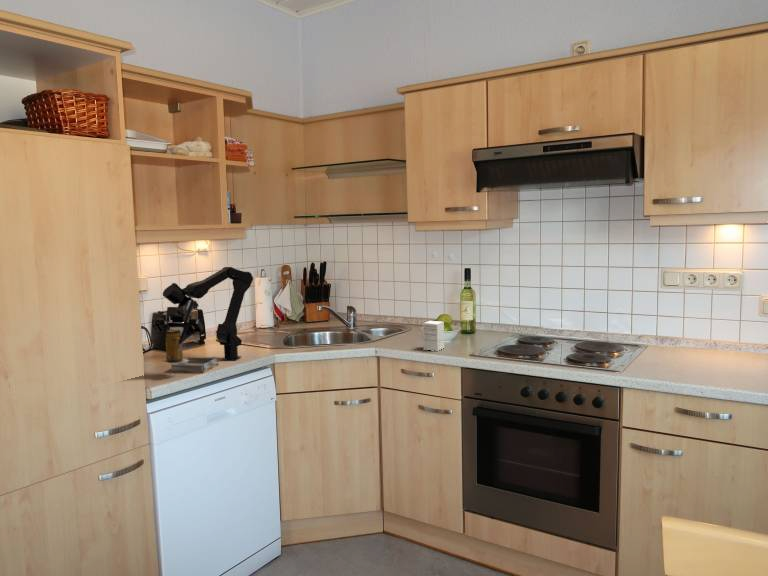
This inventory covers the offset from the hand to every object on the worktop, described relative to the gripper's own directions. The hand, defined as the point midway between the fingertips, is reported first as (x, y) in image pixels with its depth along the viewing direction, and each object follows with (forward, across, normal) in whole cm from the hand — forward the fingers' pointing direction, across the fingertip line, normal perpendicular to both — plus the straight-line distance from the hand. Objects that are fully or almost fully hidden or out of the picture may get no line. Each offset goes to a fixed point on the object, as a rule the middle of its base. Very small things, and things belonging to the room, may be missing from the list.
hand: (172, 343), depth 241 cm
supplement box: (-30, +96, +50) cm, 112 cm away
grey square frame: (0, +2, +19) cm, 19 cm away
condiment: (+5, +1, +6) cm, 7 cm away
